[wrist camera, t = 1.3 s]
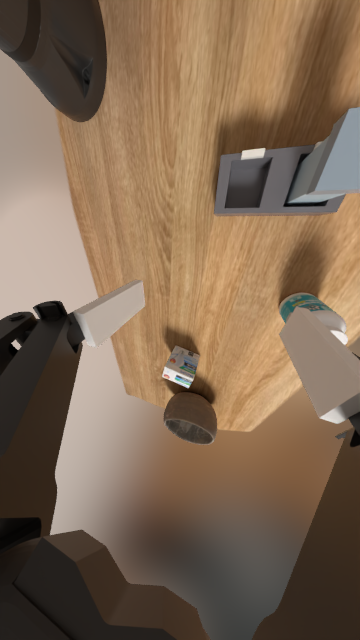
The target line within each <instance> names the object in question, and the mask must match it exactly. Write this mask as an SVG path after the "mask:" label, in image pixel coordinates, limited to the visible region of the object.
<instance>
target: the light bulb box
mask: <svg viewBox="0 0 360 640" xmlns="http://www.w3.org/2000/svg"><path fill="white" fill-rule="evenodd" d="M199 357H200V355H198V354H195V353H193V352H191V351H188V350H186V349H184V348H181V347H179V346H177V345H175V347H174V349H173V351H172V353H171V355H170V357H169V359H168V361H167V363H166V365H165V368H164V371H163V374H162V377H164V378H166V379H169V380H171V381H173V382H175V383H178V384H180V385H182V386H184V387H186V388H189V386H190V385H191V383H192V381H193V380H194V377H195V373H196V369H197V365H198V361H199Z"/></svg>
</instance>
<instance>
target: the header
mask: <svg viewBox="0 0 360 640" xmlns="http://www.w3.org/2000/svg"><path fill="white" fill-rule="evenodd" d="M322 142H323V141H321V142H317V143H316V144H315V145H306V146H297V147H288V148H279V149H271V150H265V149H266V148H261V149H252V150H244V151H242V153H235V154H226V155H221V160H220V168H219V177H218V185H217V193H216V201H215V209H214V214H215V215H216V216H302V215H324V214H329V213H335V212H337V210H338V208H339V206H340V204H341V203H342V201H343V199H344V197H345V195H346V194H344V195H341V196H337V197H334V198H331V199H328V200H325V201H322V202H319V203H316V204H313V205H304V206H283V205H284V202H285V199H286V197H287V194H288V191H289V188H290V185H291V182H292V179H293V176H294V173H295V170H296V167H297V166H298V165H299V164H300V163H301V162H302V161H303V160H304V159H305V158H306V157H307V156H308V155H309V154H310V153H312V152H313V151H314V150H315V149H316V148H317V147H318V146H319V145H320V144H321V143H322Z"/></svg>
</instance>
